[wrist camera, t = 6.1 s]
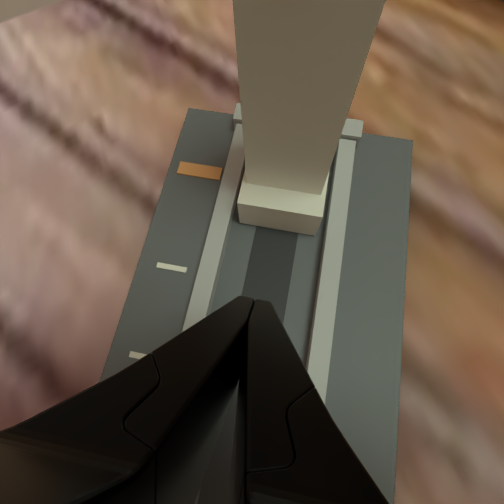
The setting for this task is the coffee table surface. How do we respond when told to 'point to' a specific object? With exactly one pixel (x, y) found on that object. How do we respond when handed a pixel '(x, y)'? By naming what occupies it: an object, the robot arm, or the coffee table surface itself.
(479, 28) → the coffee table surface
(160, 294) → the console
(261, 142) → the fader knob
